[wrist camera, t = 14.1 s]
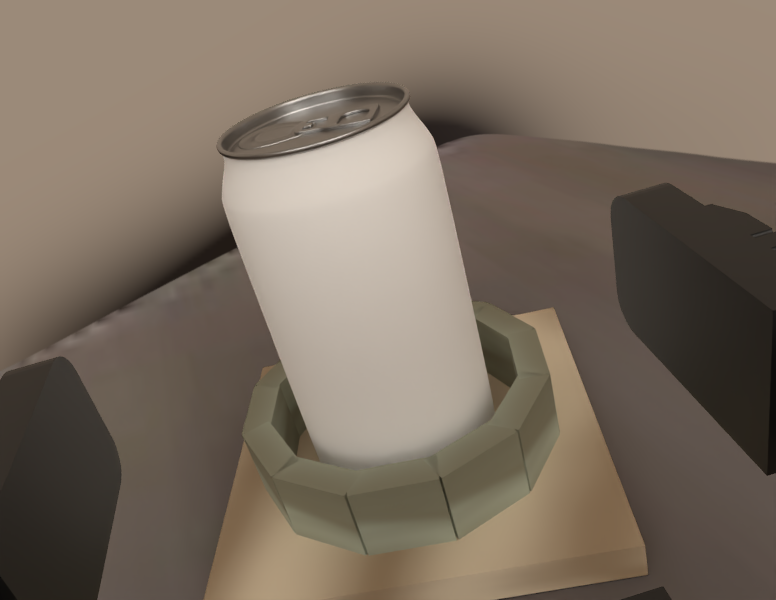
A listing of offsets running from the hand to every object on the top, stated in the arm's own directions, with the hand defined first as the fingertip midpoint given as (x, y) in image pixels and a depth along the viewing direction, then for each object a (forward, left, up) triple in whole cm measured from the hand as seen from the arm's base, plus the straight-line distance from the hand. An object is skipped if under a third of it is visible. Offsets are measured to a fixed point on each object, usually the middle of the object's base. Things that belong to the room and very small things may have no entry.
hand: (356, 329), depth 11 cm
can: (-2, +12, -12) cm, 17 cm away
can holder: (-2, +12, -13) cm, 18 cm away
